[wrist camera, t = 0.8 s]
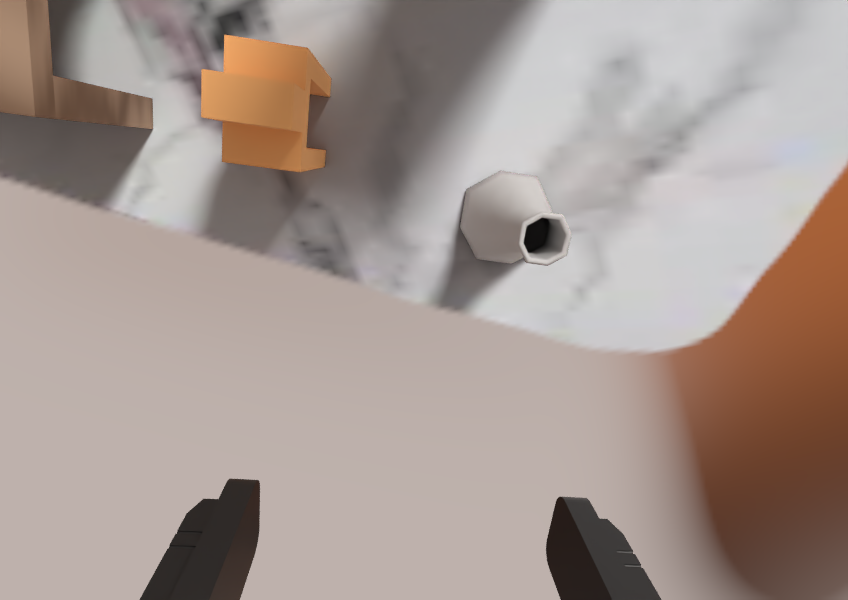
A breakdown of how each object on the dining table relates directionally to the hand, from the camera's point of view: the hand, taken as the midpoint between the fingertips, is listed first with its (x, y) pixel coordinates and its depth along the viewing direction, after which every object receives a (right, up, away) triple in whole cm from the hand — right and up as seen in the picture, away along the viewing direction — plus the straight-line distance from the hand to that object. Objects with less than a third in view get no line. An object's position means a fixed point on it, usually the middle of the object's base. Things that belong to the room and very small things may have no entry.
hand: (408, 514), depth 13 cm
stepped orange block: (-8, +19, +22) cm, 30 cm away
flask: (+7, +12, +25) cm, 29 cm away
